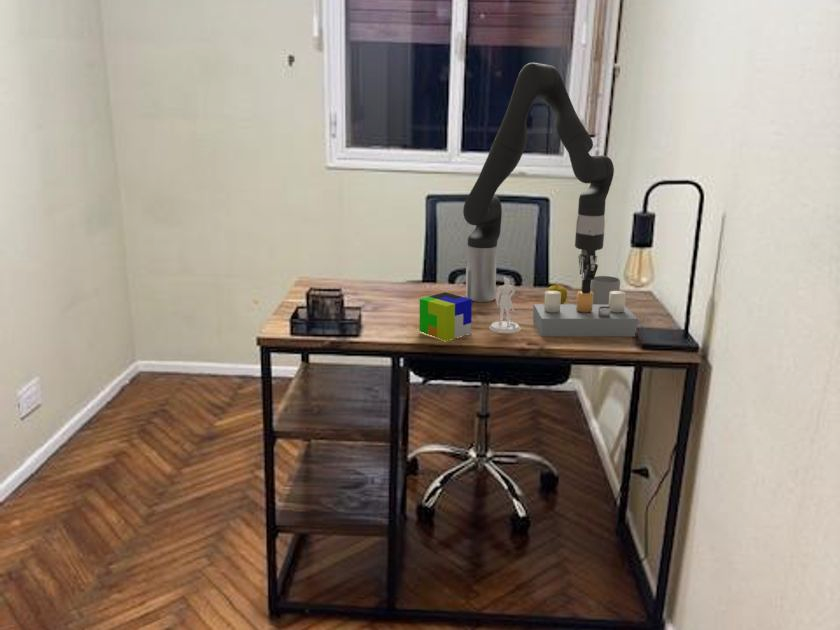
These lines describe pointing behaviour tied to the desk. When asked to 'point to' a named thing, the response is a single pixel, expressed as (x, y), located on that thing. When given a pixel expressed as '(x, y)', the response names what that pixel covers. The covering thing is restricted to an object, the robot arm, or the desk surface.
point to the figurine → (507, 303)
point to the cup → (603, 288)
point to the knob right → (617, 301)
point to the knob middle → (584, 302)
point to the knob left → (552, 301)
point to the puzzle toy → (445, 316)
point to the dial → (604, 311)
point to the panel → (583, 322)
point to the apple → (559, 289)
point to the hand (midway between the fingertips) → (585, 292)
